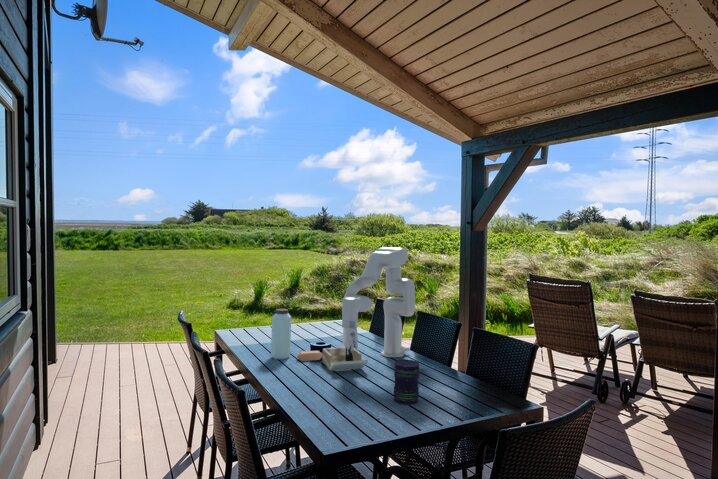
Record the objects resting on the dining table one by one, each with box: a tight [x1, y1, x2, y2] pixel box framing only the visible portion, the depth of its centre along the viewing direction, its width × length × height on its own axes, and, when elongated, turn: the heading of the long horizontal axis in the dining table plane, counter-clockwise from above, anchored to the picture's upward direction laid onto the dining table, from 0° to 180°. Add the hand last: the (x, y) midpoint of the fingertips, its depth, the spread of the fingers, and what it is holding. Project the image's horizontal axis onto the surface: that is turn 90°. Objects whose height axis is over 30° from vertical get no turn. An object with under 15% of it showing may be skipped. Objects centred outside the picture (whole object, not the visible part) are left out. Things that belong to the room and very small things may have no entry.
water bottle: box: [270, 308, 292, 360], centre depth 234 cm, size 10×10×25 cm
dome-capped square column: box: [296, 350, 323, 362], centre depth 232 cm, size 13×4×4 cm, turn 108°
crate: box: [321, 346, 362, 371], centre depth 223 cm, size 16×14×7 cm
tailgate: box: [328, 359, 369, 371], centre depth 212 cm, size 16×1×9 cm
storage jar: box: [393, 355, 420, 406], centre depth 176 cm, size 10×10×18 cm
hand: (349, 362), depth 211 cm, fingers closed
